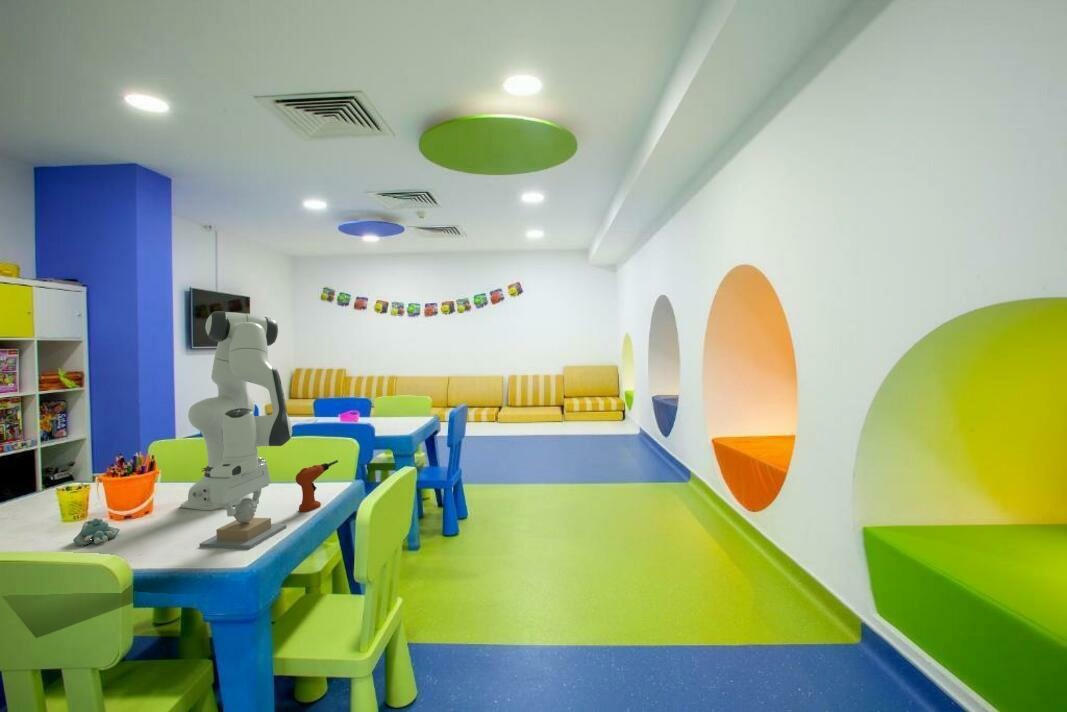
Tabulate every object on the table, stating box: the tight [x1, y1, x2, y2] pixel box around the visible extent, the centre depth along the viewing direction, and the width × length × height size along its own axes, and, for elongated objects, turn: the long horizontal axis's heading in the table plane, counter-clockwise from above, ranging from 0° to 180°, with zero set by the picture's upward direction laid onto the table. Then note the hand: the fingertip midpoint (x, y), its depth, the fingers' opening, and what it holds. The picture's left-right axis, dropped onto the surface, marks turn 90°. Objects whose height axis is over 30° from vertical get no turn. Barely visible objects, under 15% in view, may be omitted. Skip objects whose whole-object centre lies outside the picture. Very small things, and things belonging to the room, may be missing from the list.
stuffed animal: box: [72, 517, 121, 546], centre depth 152 cm, size 11×7×12 cm
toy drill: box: [295, 459, 339, 513], centre depth 180 cm, size 5×19×15 cm, turn 156°
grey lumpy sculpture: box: [232, 497, 258, 523], centre depth 151 cm, size 6×7×7 cm
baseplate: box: [199, 517, 287, 550], centre depth 151 cm, size 16×16×4 cm
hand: (243, 510), depth 151 cm, fingers open, 8 cm apart
